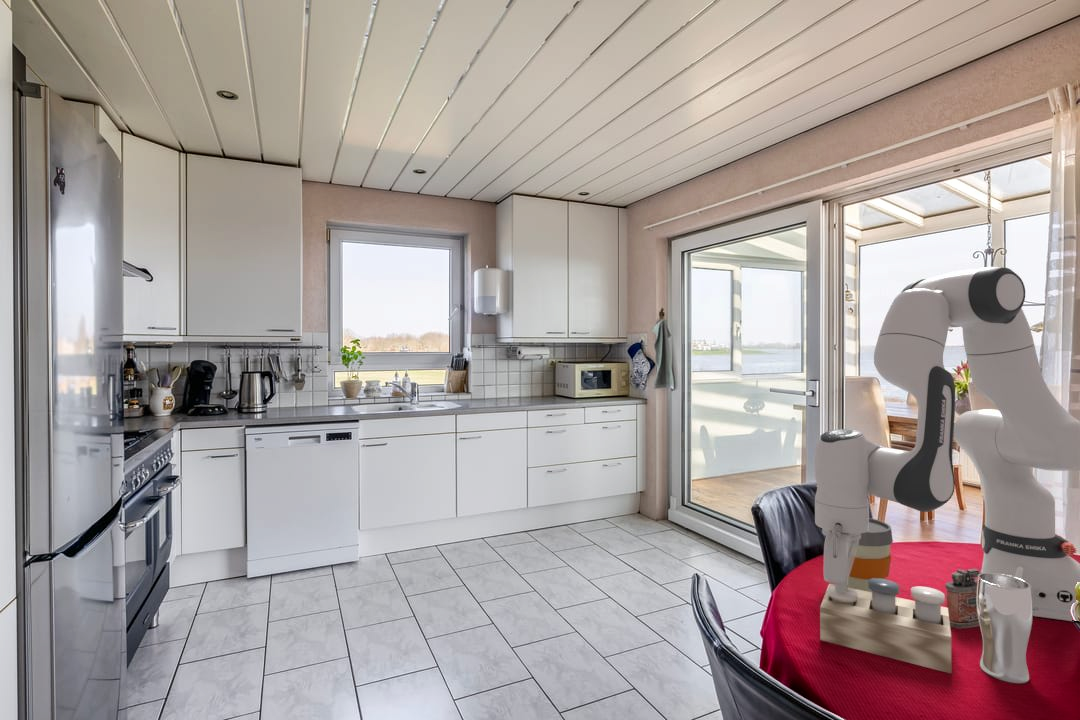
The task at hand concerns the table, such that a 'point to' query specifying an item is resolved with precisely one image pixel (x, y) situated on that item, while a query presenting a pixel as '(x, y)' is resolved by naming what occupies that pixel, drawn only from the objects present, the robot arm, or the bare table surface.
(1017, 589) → the beer glass
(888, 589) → the plunger middle
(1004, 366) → the robot arm
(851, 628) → the wooden peg holder
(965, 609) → the lighter
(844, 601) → the plunger far
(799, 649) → the table surface
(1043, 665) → the table surface
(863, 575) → the reusable coffee cup
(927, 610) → the plunger near
